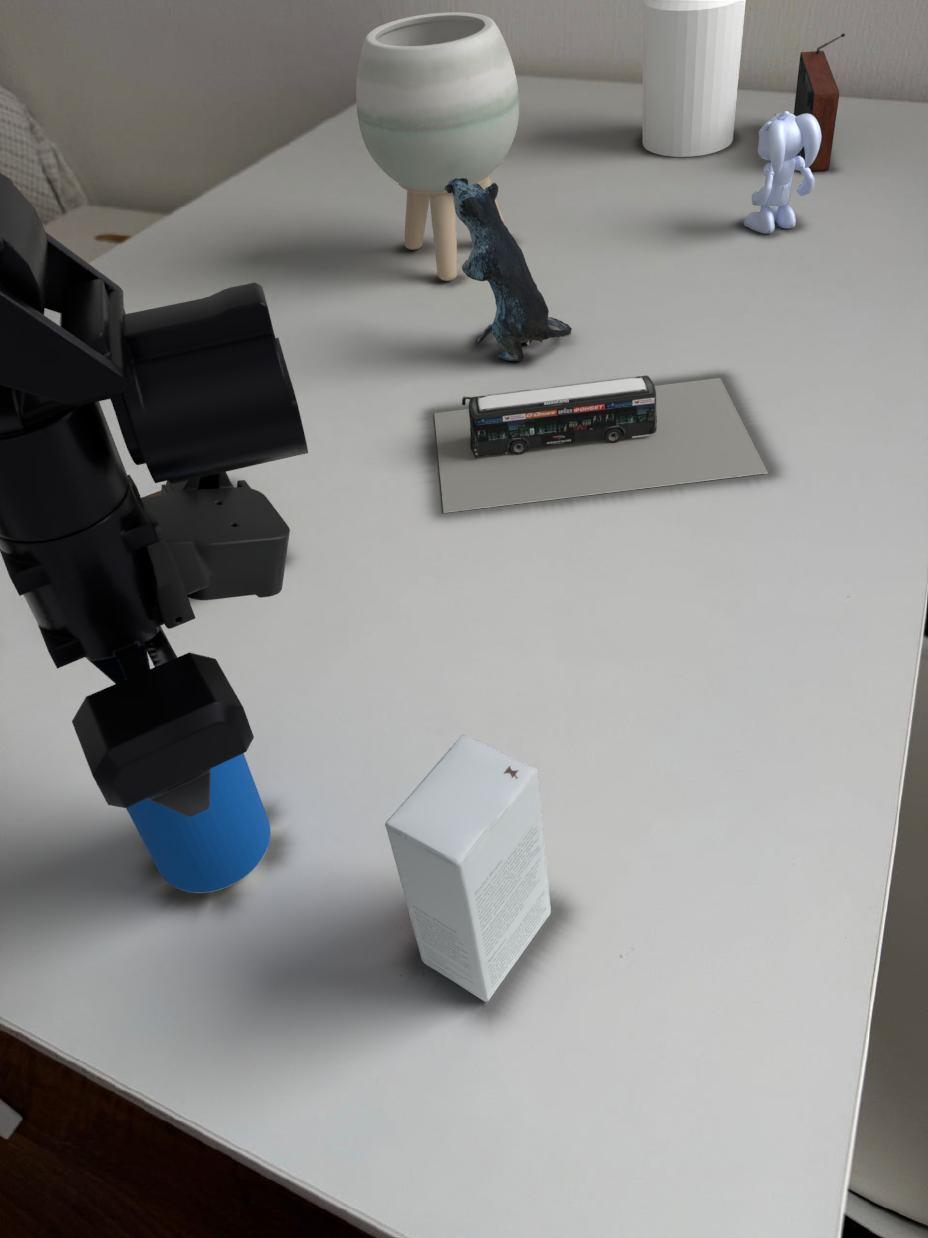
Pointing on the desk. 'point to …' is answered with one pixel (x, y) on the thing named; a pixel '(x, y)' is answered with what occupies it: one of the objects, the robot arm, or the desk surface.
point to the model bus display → (589, 441)
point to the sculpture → (502, 272)
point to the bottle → (690, 74)
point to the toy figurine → (783, 168)
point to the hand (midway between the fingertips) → (169, 748)
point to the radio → (818, 100)
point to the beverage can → (208, 833)
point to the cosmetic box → (473, 864)
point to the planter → (437, 114)
